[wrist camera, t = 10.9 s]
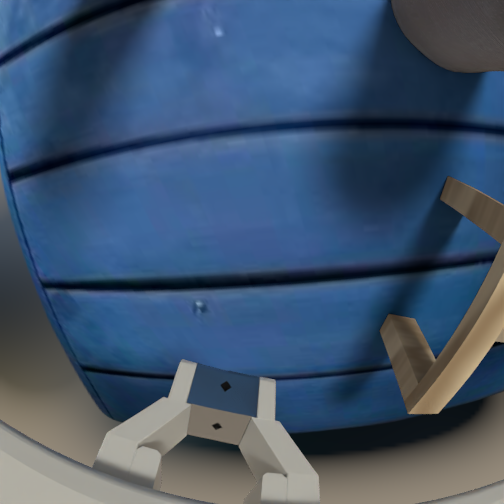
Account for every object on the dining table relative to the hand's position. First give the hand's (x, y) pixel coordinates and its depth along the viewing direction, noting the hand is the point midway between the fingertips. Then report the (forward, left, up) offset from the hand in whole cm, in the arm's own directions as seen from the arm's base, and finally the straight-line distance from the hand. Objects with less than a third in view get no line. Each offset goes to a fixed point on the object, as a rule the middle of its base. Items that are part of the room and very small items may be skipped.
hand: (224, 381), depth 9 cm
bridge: (-15, 0, -15) cm, 21 cm away
